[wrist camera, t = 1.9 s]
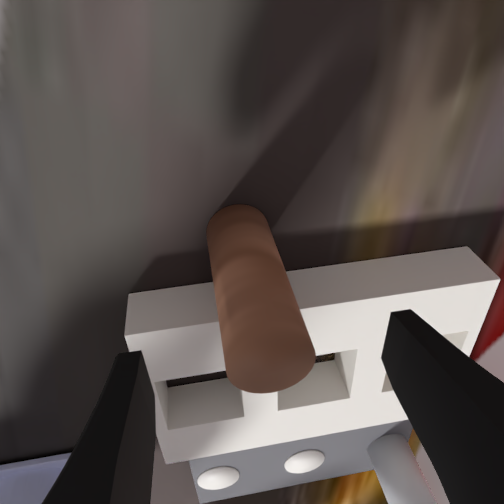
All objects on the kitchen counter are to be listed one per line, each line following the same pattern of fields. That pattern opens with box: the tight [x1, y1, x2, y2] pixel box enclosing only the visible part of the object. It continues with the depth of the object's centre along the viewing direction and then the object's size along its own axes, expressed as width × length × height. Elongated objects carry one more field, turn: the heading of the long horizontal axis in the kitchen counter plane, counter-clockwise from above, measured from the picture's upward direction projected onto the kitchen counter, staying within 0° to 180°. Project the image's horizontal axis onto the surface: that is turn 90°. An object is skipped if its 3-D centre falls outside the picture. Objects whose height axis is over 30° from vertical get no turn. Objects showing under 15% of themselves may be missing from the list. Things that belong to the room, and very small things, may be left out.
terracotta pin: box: [206, 204, 316, 394], centre depth 15 cm, size 3×3×7 cm
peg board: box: [124, 246, 500, 464], centre depth 21 cm, size 16×10×2 cm, turn 93°
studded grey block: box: [189, 419, 437, 504], centre depth 25 cm, size 14×6×6 cm, turn 93°
